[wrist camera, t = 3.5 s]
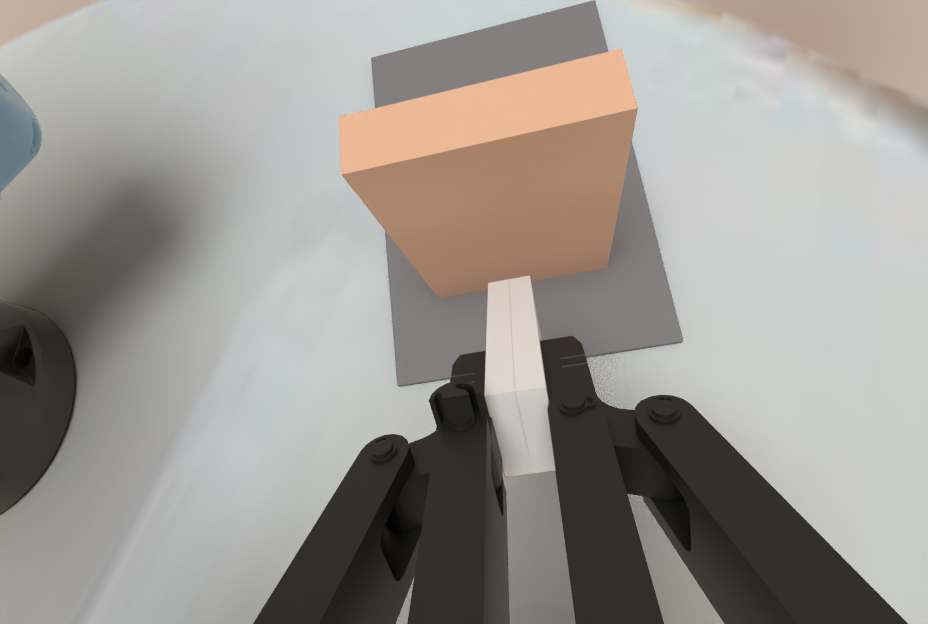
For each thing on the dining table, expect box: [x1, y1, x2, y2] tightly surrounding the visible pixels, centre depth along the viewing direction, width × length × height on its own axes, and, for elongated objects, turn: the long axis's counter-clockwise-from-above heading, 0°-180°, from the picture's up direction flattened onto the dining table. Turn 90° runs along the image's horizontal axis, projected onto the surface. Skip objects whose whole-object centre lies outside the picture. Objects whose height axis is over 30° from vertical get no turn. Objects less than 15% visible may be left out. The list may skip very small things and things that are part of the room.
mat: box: [371, 0, 683, 387], centre depth 33 cm, size 24×16×1 cm, turn 7°
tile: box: [339, 49, 638, 298], centre depth 24 cm, size 3×10×14 cm, turn 97°
